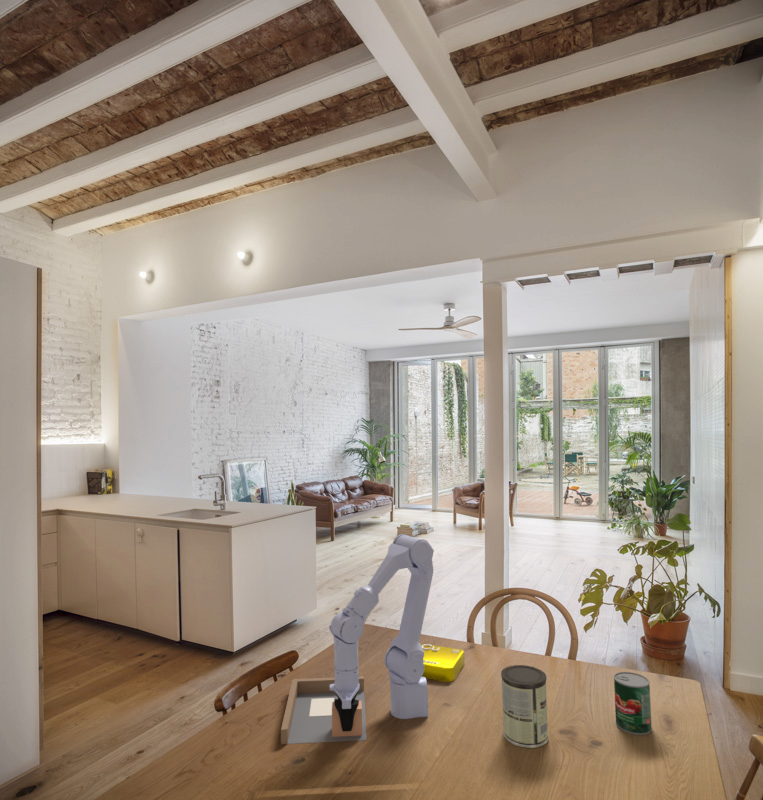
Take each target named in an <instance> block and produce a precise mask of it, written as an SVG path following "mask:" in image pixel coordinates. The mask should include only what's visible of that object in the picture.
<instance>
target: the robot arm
mask: <svg viewBox="0 0 763 800" xmlns="http://www.w3.org/2000/svg"><path fill="white" fill-rule="evenodd" d="M434 552H435V550H434V548H433V547H432V545H431V544H430V543H429V541H428V540H426V539H424V538H417V537H415V536H414V537H413V536H410V535H407V534H405V533H404V534H403V533H402V534H398V535H397V536H395V538H394V539H393V542H392V543H391V544H389V546H388V549H387V552H386V553H387V554H386V555H385V557H384V559H383V560H382V562H381V564H379V567H377V570H376V571H375V573H374V575H373V576H372V578H371V579H370V580H369V582H368V584H367V585H364V586H360V587H359V588H358V589H355V591H354V593H353V597H352V598H351V599H350V601H349V602H348V603H347V604H346V606H344V607H343V609H342V610H341V612H339V613H337V614H336V615H335V616H334V617H333V618H332V620H331V623H330V625H329V626H328V628H329V632H330V634H332V636H333V654H334V655H333V659H334V663H333V665H334V667H333V669H334V677H335V684H330V690H331V691H335V693H336V695H337V697H338V699H335V702H334V704H335V708H336V709H337V711H338V714H339V717H340V722H341V727H342V731H343V732H344V731H352V727H353V720H354V715H355V712H356V709H357V707H358V705H359V700H355V698H356V695H357V693H358V690H359V688H360V685H359V675H360V673H359V639H360V638H361V637H362V636H363V632H364V625H365V624H366V621H367V619H368V618H369V616H370V615H371V613H372V612H373V611H374V609H375V608H376V607H377V605H378V604H379V594H380V593H381V592H382V590H383V589H384V588H385V587H386V586H387V585H388V583H389V582H390V581H391V579H392V578H393V577H394V576H395V575H396V573H398V571H399V570H404V569H408V570H409V572H410V574H411V575H410V578H409V583H408V588H407V593H406V598H405V602H404V607H403V612H402V616H401V621H400V626H399V631H398V635H397V636H395V637H394V638H393V639H392V640H391V641H390V645H389V648H388V649H387V651H386V652H385V655H384V665H385V667H386V669H387V670H388V673H389V674H388V675H389V679H390V680H389V681H390V682H389V685H390V686H389V687H390V688H389V691H390V693H389V694H390V696H389V697H390V715H391V716H393V717H394V718H397V719H400V720H408V719H409V720H411V719H414V718H428V717H429V697H428V695H429V693H428V691H429V689H428V682H427V679H426V677H422V675H423V672H424V662H423V658H424V651H423V649H422V646H421V644H422V643H420V642H421V641H420V640H421V635H422V630H423V624H424V620H425V613H426V610H427V604H428V599H429V595H430V591H431V585H432V580H433V576H434V565H433V558H434V556H433V555H434Z"/></svg>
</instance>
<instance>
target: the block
mask: <svg viewBox="0 0 763 800" xmlns="http://www.w3.org/2000/svg"><path fill="white" fill-rule="evenodd" d="M359 735H362V701H359V705H358V707H357V709H356V712H355V715H354V720H353V727H352V731H344V732H343V731H342V727H341V722H340V717H339V714H338V711H337V709H336V708H335V704H334V702H332V737H338V736H359Z"/></svg>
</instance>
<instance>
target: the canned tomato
mask: <svg viewBox="0 0 763 800" xmlns="http://www.w3.org/2000/svg"><path fill="white" fill-rule="evenodd" d="M650 682H651V681H650V679H648V677H646V676H644V675H641V674H639V673H636V672H630V671H619V672H616V673H615V674H613V685H614V686H613V687H614V689H613V690H614V706H615V707H614V708H615V711H614V712H615V725H616V727H618V728H619V729H620V730H621V731H623V732H626V733H628V734H631V735H636V736H638V735H639V736H644V735H648V734H650V733H652V730H653V729H652V709H651V707H652V705H651V689H650Z"/></svg>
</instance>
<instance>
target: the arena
mask: <svg viewBox="0 0 763 800" xmlns="http://www.w3.org/2000/svg"><path fill="white" fill-rule="evenodd" d="M330 684H335V676H334V677H315V678H314V677H313V678H312V677H311V678H293V679H292V681H291V684H290V687H289V688H290V689H289V693H288V698H287V702H286V705H285V712H284V714H283V719H282V724H281V728H280V745H292V744H293V745H296V744H312V743H313V744H314V743H315V744H316V743H336V742H337V743H339V742H352V741H353V742H356V741H358V742H359V741H367V740H368V739H367V721H366V719H367V717H366V703H365V702H366V700H365V676H364V675H361V676H359V685H360V688H359V690H358V693H357V695H356V698H355V700H359V701H362V735H359V736H338V737H332V702H335V699H338V697H337V695H336V693H335V691H331V690H330Z"/></svg>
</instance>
